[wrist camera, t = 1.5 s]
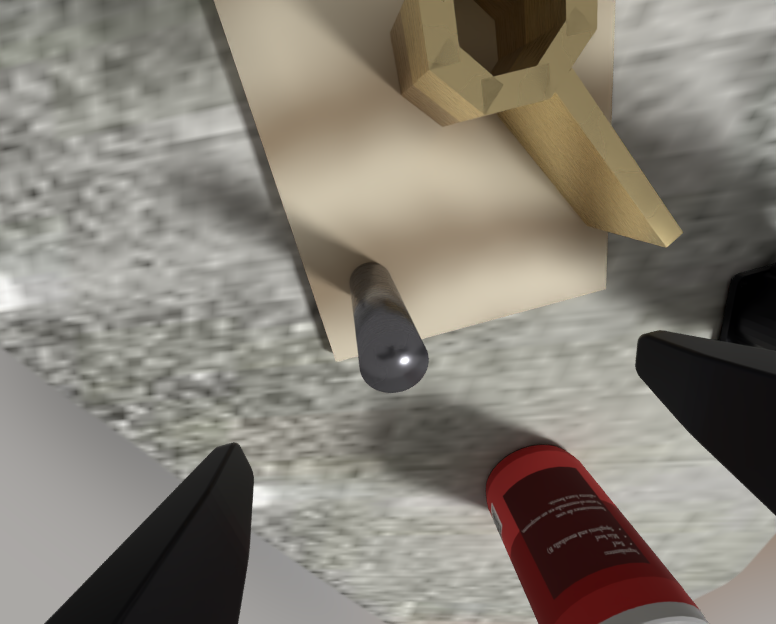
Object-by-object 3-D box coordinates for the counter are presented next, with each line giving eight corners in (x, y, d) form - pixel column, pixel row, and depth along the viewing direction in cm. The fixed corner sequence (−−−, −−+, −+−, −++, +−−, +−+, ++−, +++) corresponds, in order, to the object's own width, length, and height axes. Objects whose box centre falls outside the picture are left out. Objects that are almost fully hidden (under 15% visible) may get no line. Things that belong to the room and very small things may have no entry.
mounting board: (596, 284, 21) (605, 289, 21) (336, 354, 21) (336, 361, 20) (608, -301, 12) (626, -330, 12) (148, -205, 12) (136, -229, 11)
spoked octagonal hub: (598, 223, 19) (681, 243, 15) (432, 266, 19) (463, 301, 14) (610, -327, 12) (788, -637, 7) (334, -269, 11) (335, -558, 7)
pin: (395, 296, 19) (433, 382, 12) (355, 307, 19) (369, 400, 12) (386, 257, 18) (421, 324, 11) (344, 268, 18) (351, 343, 11)
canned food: (535, 526, 30) (637, 713, 20) (461, 499, 27) (535, 698, 17) (599, 462, 28) (748, 634, 18) (524, 426, 25) (650, 603, 15)
